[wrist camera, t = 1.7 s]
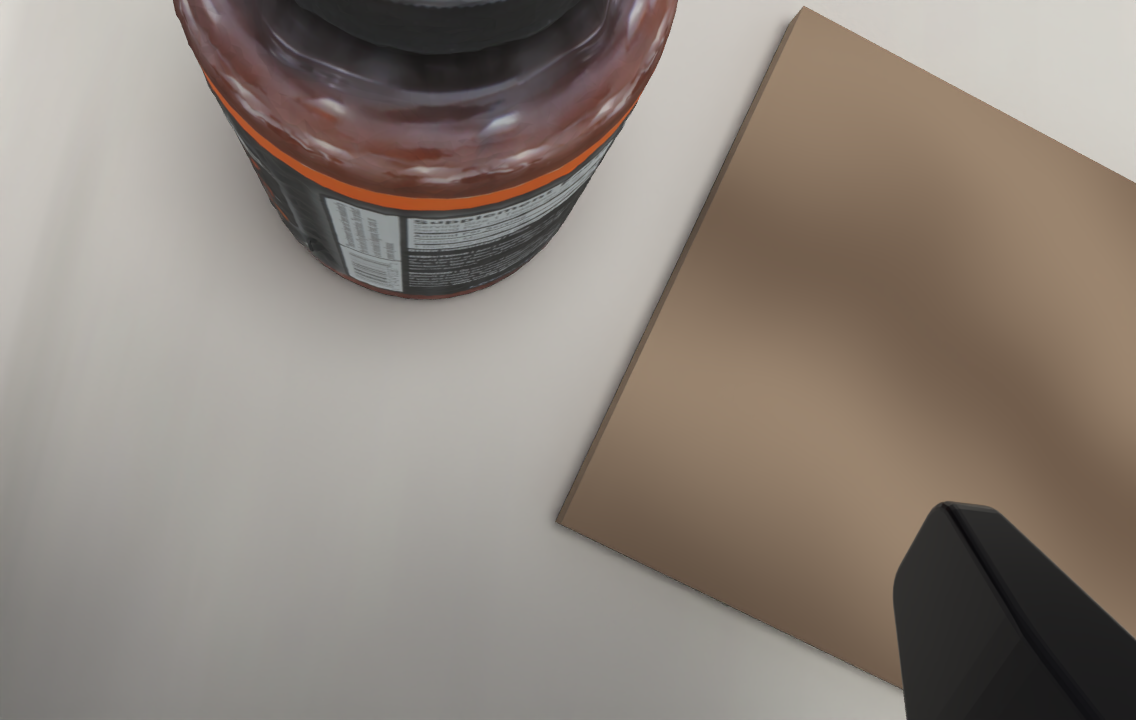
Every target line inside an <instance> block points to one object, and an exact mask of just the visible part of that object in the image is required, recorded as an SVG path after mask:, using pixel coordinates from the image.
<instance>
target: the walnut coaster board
mask: <svg viewBox="0 0 1136 720" xmlns="http://www.w3.org/2000/svg"><path fill="white" fill-rule="evenodd" d="M945 501H954V502H962V503H970V504H978V505H986V506H989V507H992V508H994V509H996V510H997V511H999V512H1000V513H1001V514H1002V515H1004V516H1005V517H1006V518H1007V519H1008V520H1009V521H1010V522H1011V523H1012V524H1013V525H1014V526H1015V527H1016V528H1017V529H1019V530H1020V531H1021V532H1022V533H1023V534H1024V535H1025V536H1026V537H1027V538H1028V539H1029V540H1030V541H1031V542H1032V543H1034V544H1035V545H1036V546H1037V547H1038V548H1039V549H1040V550H1041V551H1042V552H1043V553H1044V554H1045V555H1046V556H1047V557H1049V558H1050V559H1051V560H1052V561H1053V562H1054V563H1055V564H1056V565H1057V566H1058V567H1059V568H1060V569H1061V570H1062V571H1064V572H1065V573H1066V574H1067V575H1068V576H1069V577H1070V578H1071V579H1072V580H1073V581H1074V582H1075V583H1076V584H1077V585H1079V586H1080V587H1081V588H1082V589H1083V590H1084V591H1085V592H1086V593H1087V594H1088V595H1089V596H1090V597H1091V598H1092V599H1094V600H1095V601H1096V602H1097V603H1098V604H1099V605H1100V606H1101V607H1102V608H1103V609H1104V610H1105V611H1106V612H1107V613H1109V614H1110V615H1111V616H1112V617H1113V618H1114V619H1115V620H1116V621H1117V622H1118V623H1119V624H1120V625H1121V626H1122V627H1123V628H1125V629H1126V630H1127V631H1128V632H1129V633H1130V634H1131V635H1132V636H1133V637H1134V638H1135V639H1136V183H1134V182H1133V181H1131V180H1129V179H1127V178H1125V177H1123V176H1121V175H1119V174H1118V173H1116V172H1114V171H1112V170H1110V169H1108V168H1106V167H1104V166H1103V165H1101V164H1099V163H1097V162H1095V161H1093V160H1091V159H1090V158H1088V157H1086V156H1084V155H1082V154H1080V153H1078V152H1076V151H1075V150H1073V149H1071V148H1069V147H1067V146H1065V145H1063V144H1061V143H1060V142H1058V141H1056V140H1054V139H1052V138H1050V137H1048V136H1046V135H1045V134H1043V133H1041V132H1039V131H1037V130H1035V129H1033V128H1032V127H1030V126H1028V125H1026V124H1024V123H1022V122H1020V121H1018V120H1017V119H1015V118H1013V117H1011V116H1009V115H1007V114H1005V113H1003V112H1002V111H1000V110H998V109H996V108H994V107H992V106H990V105H988V104H987V103H985V102H983V101H981V100H979V99H977V98H975V97H974V96H972V95H970V94H968V93H966V92H964V91H962V90H960V89H959V88H957V87H955V86H953V85H951V84H949V83H947V82H945V81H944V80H942V79H940V78H938V77H936V76H934V75H932V74H930V73H929V72H927V71H925V70H923V69H921V68H919V67H917V66H915V65H914V64H912V63H910V62H908V61H906V60H904V59H902V58H901V57H899V56H897V55H895V54H893V53H891V52H889V51H887V50H886V49H884V48H882V47H880V46H878V45H876V44H874V43H872V42H871V41H869V40H867V39H865V38H863V37H861V36H859V35H857V34H856V33H854V32H852V31H850V30H848V29H846V28H844V27H843V26H841V25H839V24H837V23H835V22H833V21H831V20H829V19H828V18H826V17H824V16H822V15H820V14H818V13H816V12H814V11H813V10H811V9H809V8H807V7H805V6H803V7H802V9H801V10H800V11H799V12H798V14H797V15H796V16H795V17H794V18H793V20H792V21H791V22H790V24H789V26H788V28H787V30H786V32H785V34H784V36H783V38H782V41H781V43H780V45H779V47H778V49H777V51H776V53H775V55H774V58H773V60H772V62H771V64H770V66H769V68H768V70H767V72H766V75H765V77H764V79H763V81H762V83H761V85H760V87H759V90H758V92H757V94H756V96H755V98H754V100H753V102H752V104H751V107H750V109H749V111H748V113H747V115H746V117H745V119H744V121H743V124H742V126H741V128H740V130H739V132H738V134H737V136H736V138H735V141H734V143H733V145H732V147H731V149H730V151H729V153H728V156H727V158H726V160H725V162H724V164H723V166H722V168H721V170H720V173H719V175H718V177H717V179H716V181H715V183H714V185H713V187H712V190H711V192H710V194H709V196H708V198H707V200H706V202H705V204H704V207H703V209H702V211H701V213H700V215H699V217H698V219H697V221H696V224H695V226H694V228H693V230H692V232H691V234H690V236H689V239H688V241H687V243H686V245H685V247H684V249H683V251H682V253H681V256H680V258H679V260H678V262H677V264H676V266H675V268H674V270H673V273H672V275H671V277H670V279H669V281H668V283H667V285H666V287H665V290H664V292H663V294H662V296H661V298H660V300H659V302H658V305H657V307H656V309H655V311H654V313H653V315H652V317H651V319H650V322H649V324H648V326H647V328H646V330H645V332H644V334H643V336H642V339H641V341H640V343H639V345H638V347H637V349H636V351H635V353H634V356H633V358H632V360H631V362H630V364H629V366H628V368H627V371H626V373H625V375H624V377H623V379H622V381H621V383H620V385H619V388H618V390H617V392H616V394H615V396H614V398H613V400H612V402H611V405H610V407H609V409H608V411H607V413H606V415H605V417H604V419H603V422H602V424H601V426H600V428H599V430H598V432H597V434H596V437H595V439H594V441H593V443H592V445H591V447H590V449H589V451H588V454H587V456H586V458H585V460H584V462H583V464H582V466H581V468H580V471H579V473H578V475H577V477H576V479H575V481H574V483H573V485H572V488H571V490H570V492H569V494H568V496H567V498H566V500H565V503H564V505H563V507H562V509H561V511H560V513H559V515H558V517H557V520H556V522H557V523H559V524H561V525H563V526H565V527H567V528H569V529H571V530H573V531H575V532H577V533H579V534H582V535H584V536H586V537H588V538H590V539H592V540H594V541H596V542H598V543H600V544H602V545H604V546H606V547H609V548H611V549H613V550H615V551H617V552H619V553H621V554H623V555H625V556H627V557H629V558H631V559H633V560H635V561H638V562H640V563H642V564H644V565H646V566H648V567H650V568H652V569H654V570H656V571H658V572H660V573H662V574H664V575H667V576H669V577H671V578H673V579H675V580H677V581H679V582H681V583H683V584H685V585H687V586H689V587H691V588H693V589H696V590H698V591H700V592H702V593H704V594H706V595H708V596H710V597H712V598H714V599H716V600H718V601H720V602H723V603H725V604H727V605H729V606H731V607H733V608H735V609H737V610H739V611H741V612H743V613H745V614H747V615H749V616H752V617H754V618H756V619H758V620H760V621H762V622H764V623H766V624H768V625H770V626H772V627H774V628H776V629H778V630H781V631H783V632H785V633H787V634H789V635H791V636H793V637H795V638H797V639H799V640H801V641H803V642H805V643H807V644H810V645H812V646H814V647H816V648H818V649H820V650H822V651H824V652H826V653H828V654H830V655H832V656H834V657H837V658H839V659H841V660H843V661H845V662H847V663H849V664H851V665H853V666H855V667H857V668H859V669H861V670H863V671H866V672H868V673H870V674H872V675H874V676H876V677H878V678H880V679H882V680H884V681H886V682H888V683H890V684H892V685H895V686H897V687H899V688H901V689H903V685H902V676H901V668H900V659H899V651H898V642H897V634H896V625H895V617H894V608H893V584H894V579H895V575H896V572H897V570H898V567H899V565H900V564H901V562H902V560H903V558H904V556H905V555H906V553H907V551H908V549H909V548H910V546H911V544H912V542H913V540H914V539H915V537H916V535H917V533H918V531H919V530H920V528H921V526H922V524H923V522H924V521H925V519H926V517H927V515H928V514H929V512H930V511H931V509H932V508H933V507H934V506H936V505H937V504H939V503H940V502H945Z"/></svg>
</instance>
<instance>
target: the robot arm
mask: <svg viewBox="0 0 1136 720" xmlns="http://www.w3.org/2000/svg"><path fill="white" fill-rule="evenodd" d="M893 608H894V617H895V625H896V634H897V642H898V651H899V659H900V668H901V676H902V685H903V694H904V702H905V711H906V719H907V720H1136V639H1135V638H1134V637H1133V636H1132V635H1131V634H1130V633H1129V632H1128V631H1127V630H1126V629H1125V628H1123V627H1122V626H1121V625H1120V624H1119V623H1118V622H1117V621H1116V620H1115V619H1114V618H1113V617H1112V616H1111V615H1110V614H1109V613H1107V612H1106V611H1105V610H1104V609H1103V608H1102V607H1101V606H1100V605H1099V604H1098V603H1097V602H1096V601H1095V600H1094V599H1092V598H1091V597H1090V596H1089V595H1088V594H1087V593H1086V592H1085V591H1084V590H1083V589H1082V588H1081V587H1080V586H1079V585H1077V584H1076V583H1075V582H1074V581H1073V580H1072V579H1071V578H1070V577H1069V576H1068V575H1067V574H1066V573H1065V572H1064V571H1062V570H1061V569H1060V568H1059V567H1058V566H1057V565H1056V564H1055V563H1054V562H1053V561H1052V560H1051V559H1050V558H1049V557H1047V556H1046V555H1045V554H1044V553H1043V552H1042V551H1041V550H1040V549H1039V548H1038V547H1037V546H1036V545H1035V544H1034V543H1032V542H1031V541H1030V540H1029V539H1028V538H1027V537H1026V536H1025V535H1024V534H1023V533H1022V532H1021V531H1020V530H1019V529H1017V528H1016V527H1015V526H1014V525H1013V524H1012V523H1011V522H1010V521H1009V520H1008V519H1007V518H1006V517H1005V516H1004V515H1002V514H1001V513H1000V512H999V511H997V510H996V509H994V508H992V507H989V506H986V505H978V504H970V503H962V502H954V501H945V502H940V503H939V504H937V505H936V506H934V507H933V508H932V509H931V511H930V512H929V514H928V515H927V517H926V519H925V521H924V522H923V524H922V526H921V528H920V530H919V531H918V533H917V535H916V537H915V539H914V540H913V542H912V544H911V546H910V548H909V549H908V551H907V553H906V555H905V556H904V558H903V560H902V562H901V564H900V565H899V567H898V570H897V572H896V575H895V579H894V584H893Z"/></svg>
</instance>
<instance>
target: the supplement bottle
mask: <svg viewBox="0 0 1136 720" xmlns="http://www.w3.org/2000/svg"><path fill="white" fill-rule="evenodd" d="M677 2H678V0H173V3H174V8H175V12H176V15H177V17H178V18H179V20H180V22H181V25H182V27H183V30H184V33H185V35H186V38H187V40H188V44H189V46H190V47H191V49H192V50H193V52H194V54H195V56H196V58H197V60H198V62H199V64H200V66H201V68H202V70H203V73H204V75H205V78H206V81H207V84H208V86H209V88H210V89H211V91H212V93H213V94H214V96H215V97H216V99H217V101H218V103H219V105H220V106H221V108H222V109H223V112H224V114H225V116H226V118H227V120H228V121H229V123H230V124H231V126H232V128H233V129H234V131H235V132H236V134H237V136H238V138H239V140H240V142H241V144H242V145H243V147H244V150H245V152H246V154H247V155H248V157H249V159H250V161H251V163H252V165H253V167H254V169H255V171H256V173H257V175H258V177H259V179H260V181H261V183H262V185H263V187H264V189H265V190H266V192H267V194H268V196H269V199H270V202H271V203H272V205H273V206H274V207H275V209H276V210H277V211H278V213H279V215H280V217H281V218H282V220H283V222H284V223H285V224H286V226H287V227H288V228H289V230H290V231H291V232H292V233H293V235H294V236H295V237H296V239H297V240H298V241H299V242H300V243H301V244H303V245H304V246H305V247H306V248H307V249H308V250H309V251H310V252H311V253H312V254H313V255H314V256H315V257H316V258H317V259H318V260H319V261H320V262H321V263H322V264H323V265H325V266H326V267H328V268H329V269H331V270H333V271H334V272H336V273H337V274H339V275H340V276H342V277H343V278H345V279H348V280H350V281H352V282H354V283H356V284H359V285H361V286H364V287H366V288H368V289H371V290H374V291H377V292H380V293H383V294H388V295H394V296H399V297H403V298H407V299H409V298H413V299H442V298H450V297H454V296H459V295H464V294H469V293H472V292H474V291H477V290H480V289H484V288H487V287H489V286H491V285H493V284H495V283H497V282H499V281H501V280H502V279H504V278H506V277H508V276H510V275H511V274H513V273H514V272H516V271H517V270H518V269H519V268H521V267H522V266H523V265H524V264H526V263H527V262H529V261H530V260H531V259H532V258H533V257H534V256H535V255H536V254H537V253H538V252H539V251H541V250H542V249H543V248H544V247H545V246H546V245H547V244H548V242H549V241H550V240H551V238H552V237H553V236H554V235H555V234H556V232H557V231H558V230H559V228H560V227H561V225H562V224H563V223H564V221H565V220H566V218H567V216H568V215H569V213H570V212H571V210H572V208H573V206H574V205H575V204H576V202H577V200H578V198H579V197H580V195H581V194H582V192H583V191H584V189H585V187H586V186H587V184H588V183H589V181H590V179H591V177H592V175H593V174H594V172H595V170H596V169H597V167H598V166H599V164H600V163H601V161H602V160H603V158H604V156H605V154H606V153H607V151H608V150H609V148H610V147H611V145H612V143H613V142H614V140H615V138H616V137H617V135H618V134H619V132H620V131H621V130H622V128H623V127H624V124H625V121H626V120H627V118H628V117H629V116H630V114H631V113H632V111H633V109H634V108H635V106H636V104H637V102H638V99H639V97H640V95H641V94H642V92H643V90H644V88H645V86H646V85H647V83H648V81H649V79H650V78H651V76H652V74H653V72H654V71H655V69H656V66H657V64H658V62H659V60H660V58H661V55H662V53H663V50H664V47H665V44H666V41H667V38H668V36H669V33H670V30H671V26H672V23H673V19H674V16H675V13H676V8H677Z"/></svg>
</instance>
